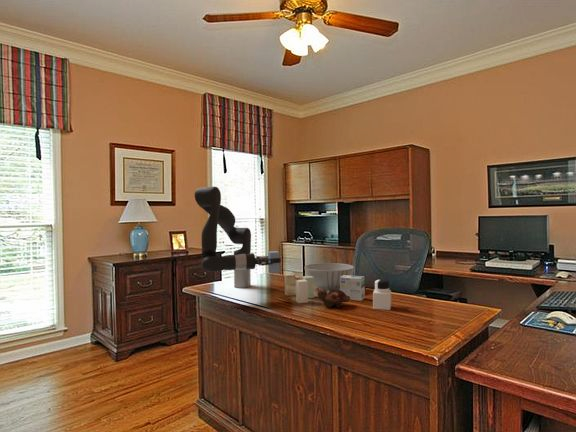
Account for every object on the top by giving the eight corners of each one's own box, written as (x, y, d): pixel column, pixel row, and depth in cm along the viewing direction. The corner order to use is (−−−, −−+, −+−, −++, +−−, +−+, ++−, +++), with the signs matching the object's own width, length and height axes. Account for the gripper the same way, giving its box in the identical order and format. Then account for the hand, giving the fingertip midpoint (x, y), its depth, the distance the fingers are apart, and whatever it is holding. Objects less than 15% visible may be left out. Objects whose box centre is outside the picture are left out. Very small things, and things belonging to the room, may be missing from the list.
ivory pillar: (296, 301, 175) (295, 280, 175) (304, 300, 177) (304, 279, 176) (298, 303, 171) (298, 281, 171) (307, 302, 172) (307, 281, 172)
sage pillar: (302, 296, 185) (302, 276, 185) (311, 295, 186) (310, 275, 186) (305, 298, 181) (305, 277, 180) (314, 297, 182) (313, 277, 182)
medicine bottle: (391, 306, 164) (390, 279, 164) (390, 310, 158) (389, 282, 157) (374, 305, 167) (374, 278, 166) (372, 309, 160) (372, 281, 160)
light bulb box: (365, 298, 180) (364, 275, 180) (361, 301, 174) (361, 278, 173) (343, 296, 184) (343, 274, 184) (339, 299, 178) (339, 276, 178)
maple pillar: (284, 293, 191) (284, 274, 190) (293, 293, 192) (292, 274, 192) (287, 295, 186) (287, 275, 186) (295, 295, 188) (295, 275, 187)
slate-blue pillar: (268, 271, 182) (268, 251, 182) (277, 271, 183) (276, 251, 183) (270, 273, 178) (270, 252, 177) (279, 272, 179) (279, 252, 179)
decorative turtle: (313, 305, 167) (314, 287, 168) (343, 304, 172) (344, 287, 172) (321, 309, 158) (322, 290, 159) (353, 308, 163) (354, 290, 163)
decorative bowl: (342, 296, 183) (342, 272, 183) (295, 291, 197) (295, 268, 197) (361, 286, 206) (361, 264, 206) (318, 282, 220) (318, 261, 220)
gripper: (246, 255, 169) (283, 253, 174) (241, 251, 183) (275, 250, 188) (247, 272, 170) (283, 269, 174) (242, 267, 183) (275, 264, 188)
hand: (279, 259), depth 181 cm, fingers closed on slate-blue pillar, 4 cm apart
